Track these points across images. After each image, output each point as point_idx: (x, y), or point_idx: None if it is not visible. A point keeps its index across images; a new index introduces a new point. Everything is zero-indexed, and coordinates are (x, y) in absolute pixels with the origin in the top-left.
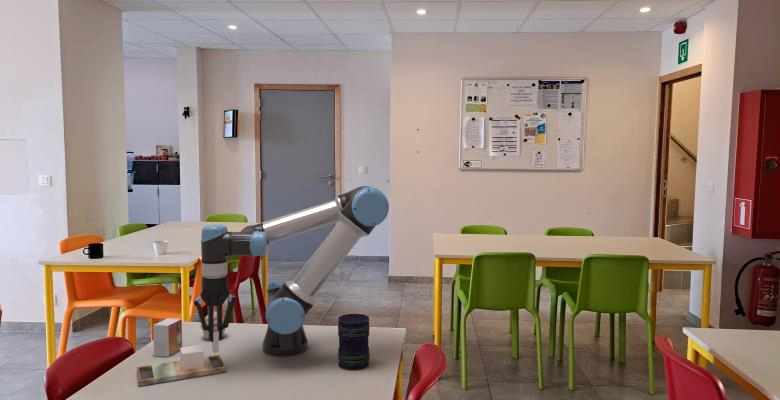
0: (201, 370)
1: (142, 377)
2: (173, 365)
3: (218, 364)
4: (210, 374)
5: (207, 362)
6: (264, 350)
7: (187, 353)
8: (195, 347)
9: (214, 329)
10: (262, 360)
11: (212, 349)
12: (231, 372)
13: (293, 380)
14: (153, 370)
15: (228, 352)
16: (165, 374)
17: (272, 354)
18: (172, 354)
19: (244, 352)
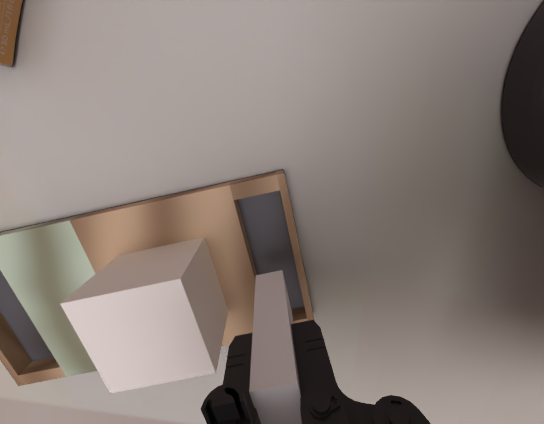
0: (223, 338)
1: (8, 309)
2: (91, 267)
3: (281, 241)
4: None
5: (236, 264)
6: (511, 121)
7: (134, 387)
8: (156, 315)
9: (271, 390)
10: (462, 222)
11: (256, 280)
12: (329, 314)
13: (503, 402)
14: (24, 303)
15: (327, 66)
16: None
17: (526, 174)
18: (16, 30)
19: (407, 89)
